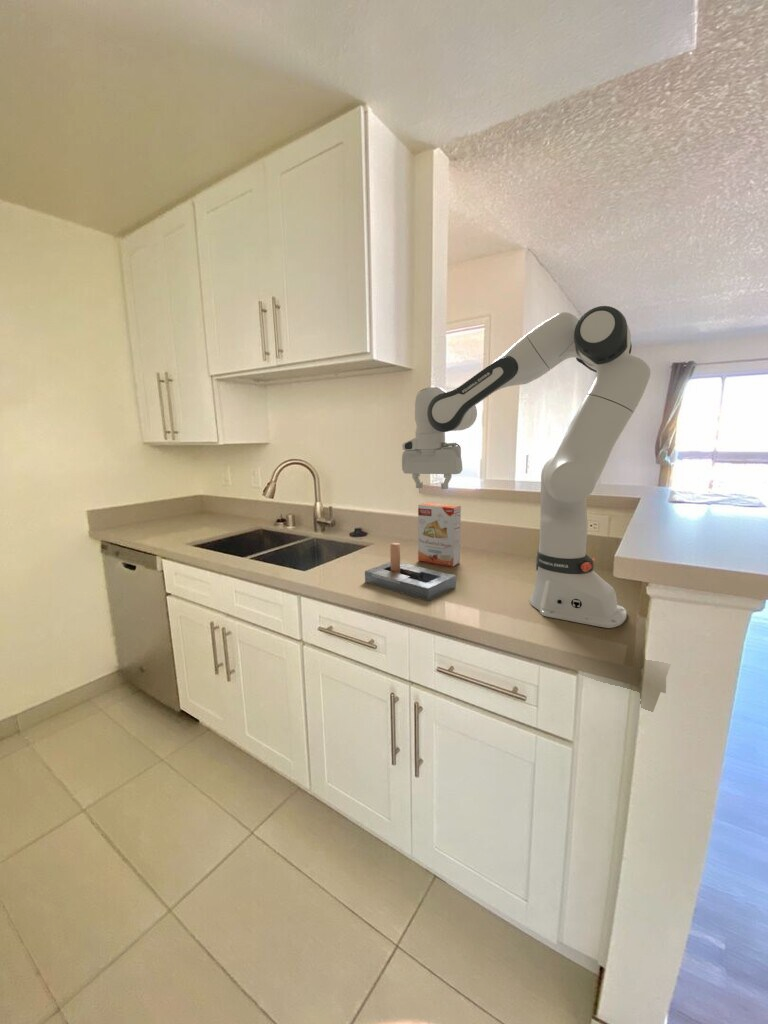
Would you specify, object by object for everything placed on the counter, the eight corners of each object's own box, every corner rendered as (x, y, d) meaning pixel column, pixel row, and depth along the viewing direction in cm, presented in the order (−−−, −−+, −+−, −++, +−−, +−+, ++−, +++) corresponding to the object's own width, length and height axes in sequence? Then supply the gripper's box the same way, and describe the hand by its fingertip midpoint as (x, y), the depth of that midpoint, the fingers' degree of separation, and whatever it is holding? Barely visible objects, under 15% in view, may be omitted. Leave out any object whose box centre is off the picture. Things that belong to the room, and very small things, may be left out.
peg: (406, 578, 129) (406, 543, 128) (396, 582, 126) (396, 547, 124) (394, 574, 133) (394, 541, 131) (384, 578, 129) (383, 544, 127)
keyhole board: (455, 587, 123) (455, 575, 123) (428, 601, 113) (428, 588, 112) (394, 571, 139) (394, 560, 138) (365, 582, 129) (364, 571, 128)
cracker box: (417, 561, 149) (417, 504, 146) (425, 557, 154) (425, 501, 150) (452, 567, 141) (453, 507, 138) (460, 563, 146) (461, 504, 143)
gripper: (466, 441, 121) (466, 488, 123) (410, 444, 134) (411, 486, 137) (454, 442, 116) (455, 491, 119) (398, 444, 130) (399, 488, 132)
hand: (431, 488), depth 128 cm, fingers open, 8 cm apart
